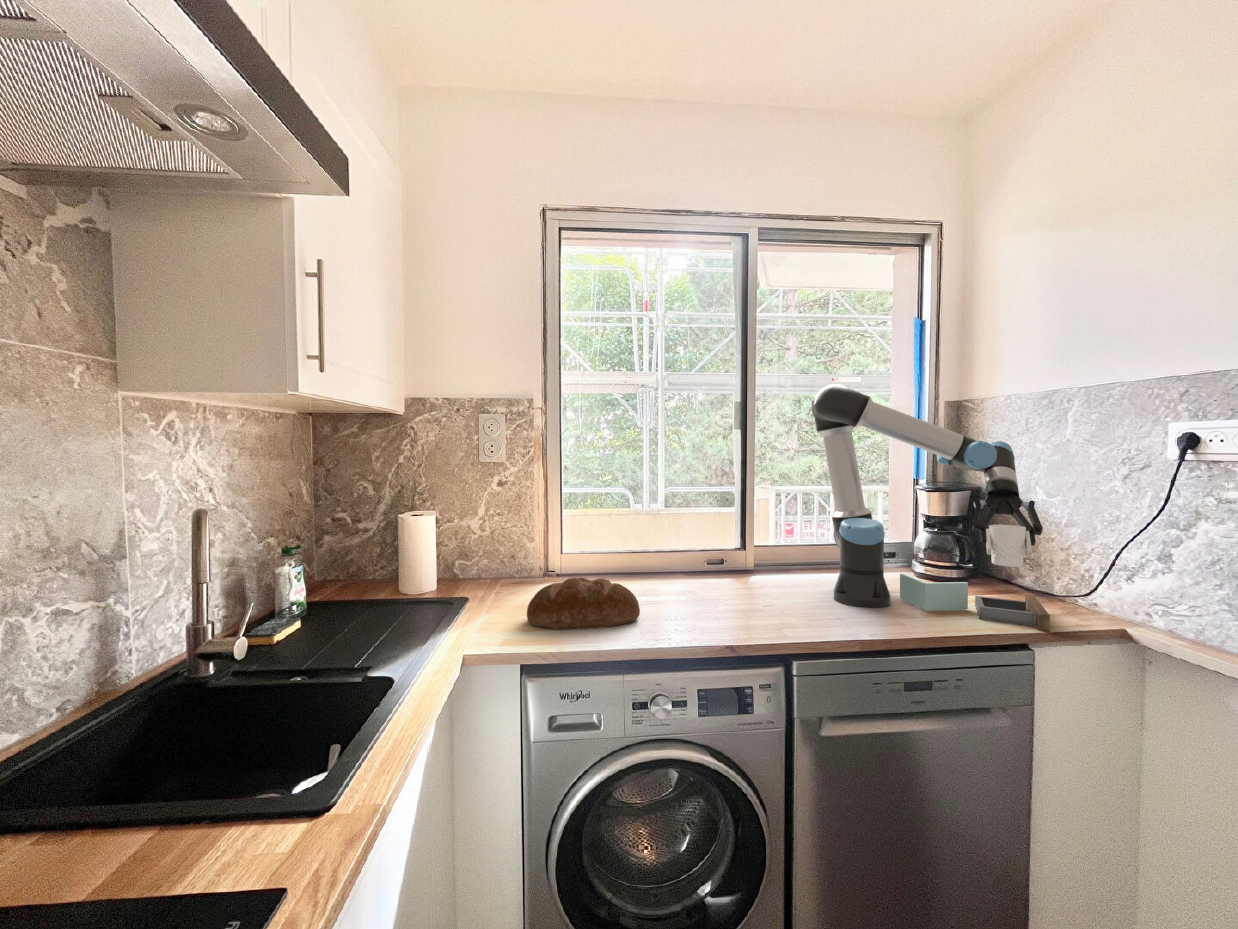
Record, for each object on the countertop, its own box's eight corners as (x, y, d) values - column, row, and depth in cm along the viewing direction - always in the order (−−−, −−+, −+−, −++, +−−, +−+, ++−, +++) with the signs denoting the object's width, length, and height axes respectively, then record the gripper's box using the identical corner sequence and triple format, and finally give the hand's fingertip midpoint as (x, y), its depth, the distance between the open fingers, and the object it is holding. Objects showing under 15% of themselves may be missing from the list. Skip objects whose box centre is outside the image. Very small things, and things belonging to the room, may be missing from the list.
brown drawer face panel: (1039, 630, 127) (1039, 614, 127) (1025, 609, 145) (1025, 594, 145) (1049, 632, 126) (1049, 615, 126) (1034, 610, 144) (1034, 595, 144)
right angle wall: (967, 610, 144) (967, 582, 144) (925, 610, 144) (925, 583, 144) (939, 598, 156) (939, 572, 156) (899, 598, 156) (900, 573, 156)
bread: (527, 615, 143) (527, 573, 143) (634, 610, 147) (633, 569, 147) (526, 635, 127) (525, 588, 127) (644, 628, 132) (644, 583, 131)
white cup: (1032, 568, 134) (1032, 529, 134) (997, 567, 135) (998, 528, 135) (1015, 561, 142) (1016, 524, 141) (983, 561, 143) (983, 524, 143)
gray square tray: (979, 619, 136) (979, 607, 136) (975, 606, 147) (975, 595, 147) (1036, 626, 131) (1036, 613, 131) (1027, 612, 141) (1027, 601, 141)
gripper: (1045, 496, 146) (1057, 565, 133) (957, 494, 156) (960, 557, 143) (1049, 478, 141) (1062, 547, 128) (958, 477, 152) (962, 541, 138)
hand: (1009, 553), depth 135 cm, fingers closed on white cup, 8 cm apart
